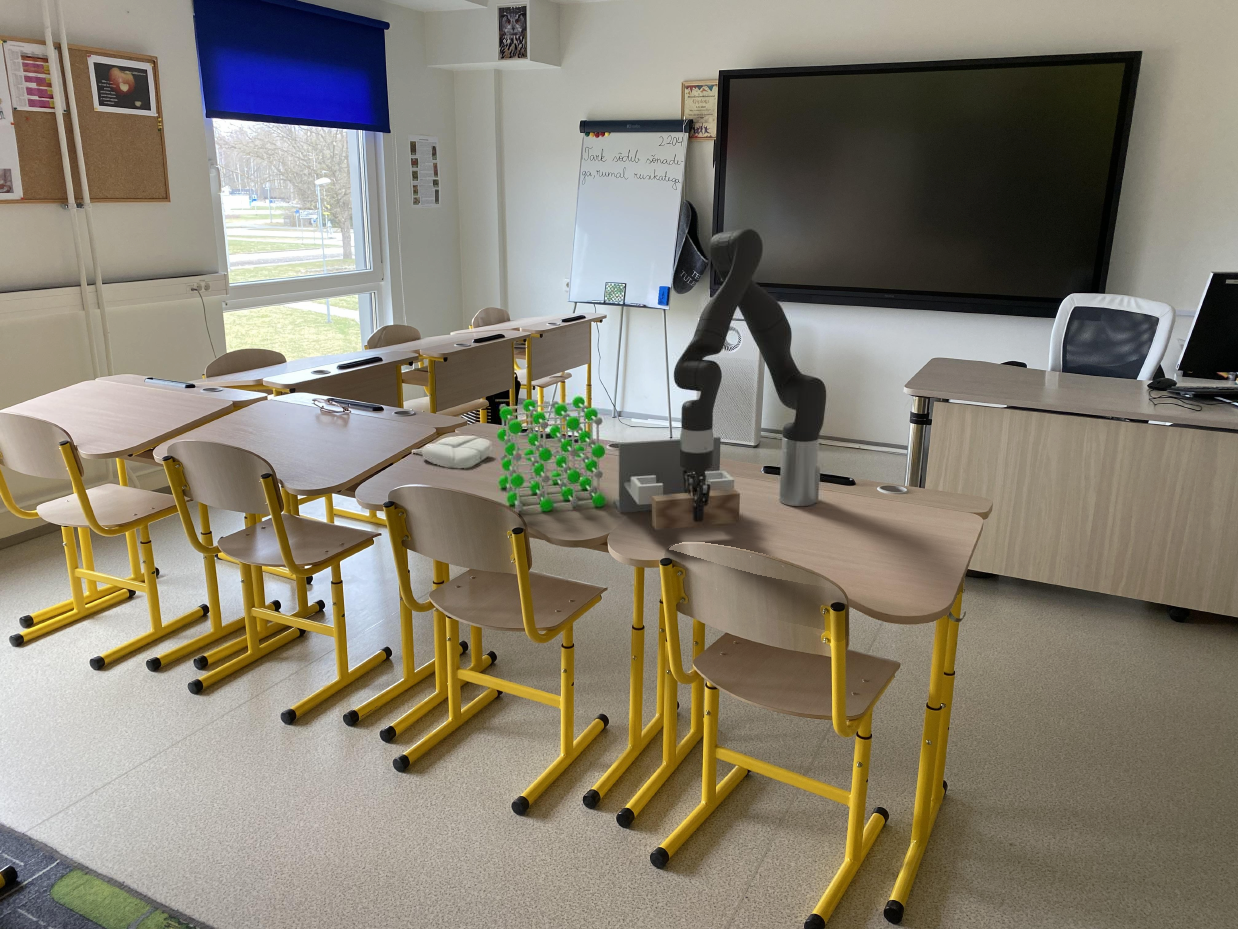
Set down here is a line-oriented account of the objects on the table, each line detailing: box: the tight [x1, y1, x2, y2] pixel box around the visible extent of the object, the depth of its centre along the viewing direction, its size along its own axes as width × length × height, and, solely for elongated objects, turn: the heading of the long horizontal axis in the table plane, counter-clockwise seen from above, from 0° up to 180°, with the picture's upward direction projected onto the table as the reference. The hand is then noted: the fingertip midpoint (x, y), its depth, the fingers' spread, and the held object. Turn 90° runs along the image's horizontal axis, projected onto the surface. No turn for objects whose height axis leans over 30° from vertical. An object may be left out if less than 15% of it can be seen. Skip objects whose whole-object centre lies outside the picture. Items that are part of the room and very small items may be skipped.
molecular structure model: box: [496, 395, 606, 512], centre depth 239 cm, size 24×25×24 cm
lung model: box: [411, 435, 493, 469], centre depth 276 cm, size 7×17×25 cm
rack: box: [613, 436, 735, 514], centre depth 227 cm, size 26×21×18 cm
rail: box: [651, 488, 741, 531], centre depth 212 cm, size 20×4×7 cm, turn 103°
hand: (695, 517), depth 212 cm, fingers closed on rail, 3 cm apart
